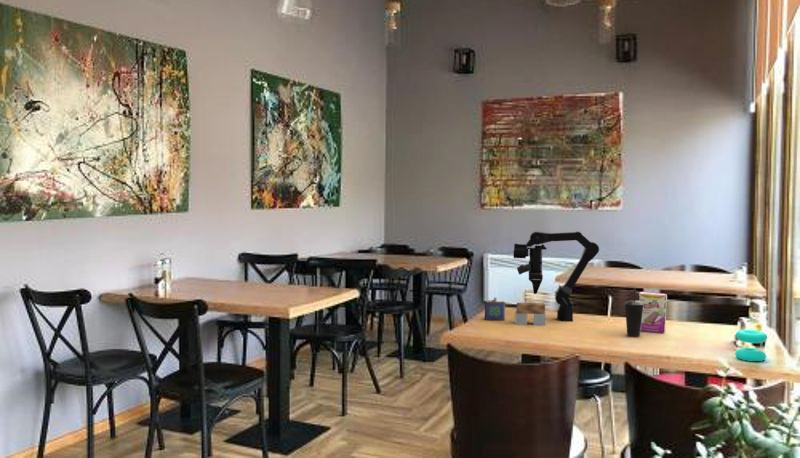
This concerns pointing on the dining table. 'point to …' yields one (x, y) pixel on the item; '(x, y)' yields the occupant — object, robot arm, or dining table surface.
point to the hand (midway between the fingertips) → (535, 292)
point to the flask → (494, 310)
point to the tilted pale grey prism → (521, 318)
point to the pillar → (539, 319)
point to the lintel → (531, 308)
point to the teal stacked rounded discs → (751, 337)
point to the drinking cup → (633, 316)
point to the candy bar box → (653, 312)
